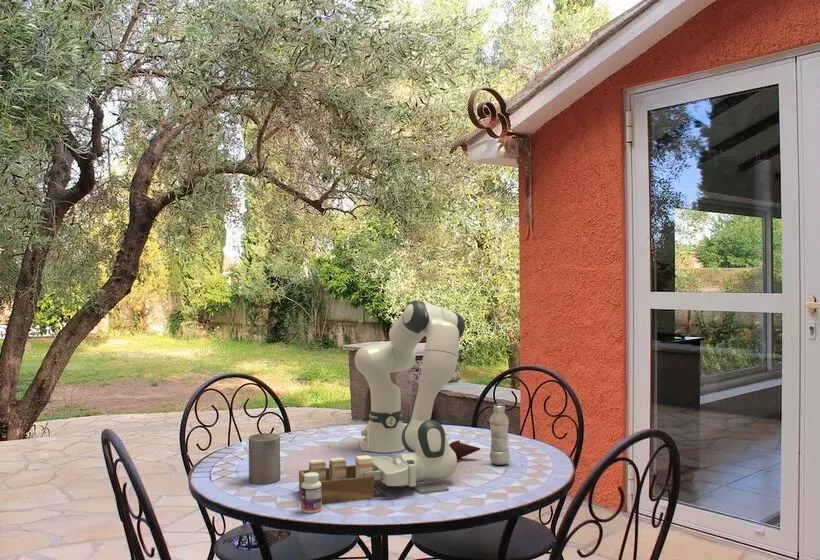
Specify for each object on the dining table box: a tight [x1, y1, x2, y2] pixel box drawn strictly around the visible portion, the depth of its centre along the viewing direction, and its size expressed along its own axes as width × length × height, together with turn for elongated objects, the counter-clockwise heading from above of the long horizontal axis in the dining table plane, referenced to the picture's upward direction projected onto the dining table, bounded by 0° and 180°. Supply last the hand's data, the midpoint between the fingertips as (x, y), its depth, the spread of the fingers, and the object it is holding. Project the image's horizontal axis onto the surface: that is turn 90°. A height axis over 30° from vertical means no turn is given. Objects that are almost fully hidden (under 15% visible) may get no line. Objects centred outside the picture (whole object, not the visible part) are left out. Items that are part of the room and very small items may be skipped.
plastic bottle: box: [488, 403, 511, 466], centre depth 229 cm, size 6×7×20 cm
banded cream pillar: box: [355, 454, 373, 478], centre depth 200 cm, size 4×4×10 cm
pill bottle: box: [300, 472, 323, 514], centre depth 183 cm, size 5×5×10 cm
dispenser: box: [298, 457, 387, 505], centre depth 198 cm, size 14×22×10 cm, turn 110°
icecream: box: [448, 439, 481, 461], centre depth 235 cm, size 7×7×15 cm
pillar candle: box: [248, 432, 281, 486], centre depth 212 cm, size 10×10×15 cm
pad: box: [411, 480, 450, 495], centre depth 203 cm, size 9×9×1 cm
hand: (361, 472), depth 200 cm, fingers closed on banded cream pillar, 4 cm apart
